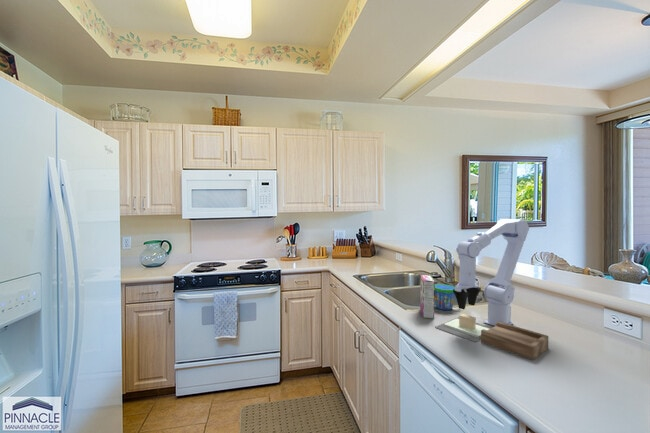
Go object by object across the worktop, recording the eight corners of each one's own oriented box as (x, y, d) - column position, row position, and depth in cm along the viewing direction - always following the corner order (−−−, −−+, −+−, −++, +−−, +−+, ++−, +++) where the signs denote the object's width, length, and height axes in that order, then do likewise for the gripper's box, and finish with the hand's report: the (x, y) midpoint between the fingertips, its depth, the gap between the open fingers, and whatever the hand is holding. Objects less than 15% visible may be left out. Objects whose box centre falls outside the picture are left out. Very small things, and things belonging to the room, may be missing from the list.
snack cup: (458, 305, 147) (458, 284, 147) (464, 312, 137) (465, 290, 136) (424, 303, 150) (425, 283, 149) (428, 310, 139) (429, 288, 139)
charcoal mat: (458, 317, 130) (458, 317, 130) (497, 330, 117) (497, 329, 117) (434, 327, 119) (434, 326, 119) (475, 342, 106) (475, 341, 106)
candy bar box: (419, 309, 141) (420, 274, 140) (430, 310, 140) (431, 275, 139) (422, 318, 130) (423, 280, 129) (434, 319, 129) (435, 281, 128)
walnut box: (498, 332, 115) (498, 321, 115) (548, 347, 103) (548, 335, 103) (480, 341, 107) (481, 330, 107) (532, 360, 94) (533, 347, 94)
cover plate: (456, 320, 127) (457, 309, 126) (491, 331, 115) (492, 319, 115) (443, 325, 120) (443, 313, 120) (479, 338, 109) (479, 325, 109)
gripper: (468, 276, 110) (467, 313, 110) (486, 271, 119) (485, 305, 119) (450, 273, 116) (449, 308, 116) (469, 268, 124) (468, 301, 125)
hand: (466, 306), depth 118 cm, fingers open, 7 cm apart
